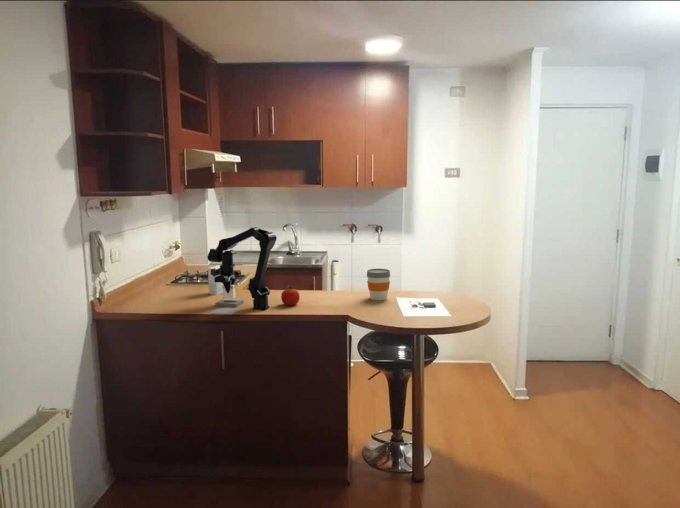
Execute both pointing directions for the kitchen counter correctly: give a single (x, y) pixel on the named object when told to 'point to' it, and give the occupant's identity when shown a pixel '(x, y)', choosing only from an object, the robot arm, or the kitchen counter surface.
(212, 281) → the skincare box
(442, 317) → the kitchen counter surface
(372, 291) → the reusable coffee cup
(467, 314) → the kitchen counter surface
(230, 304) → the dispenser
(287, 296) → the fruit
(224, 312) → the mat
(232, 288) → the tan banded white slab
